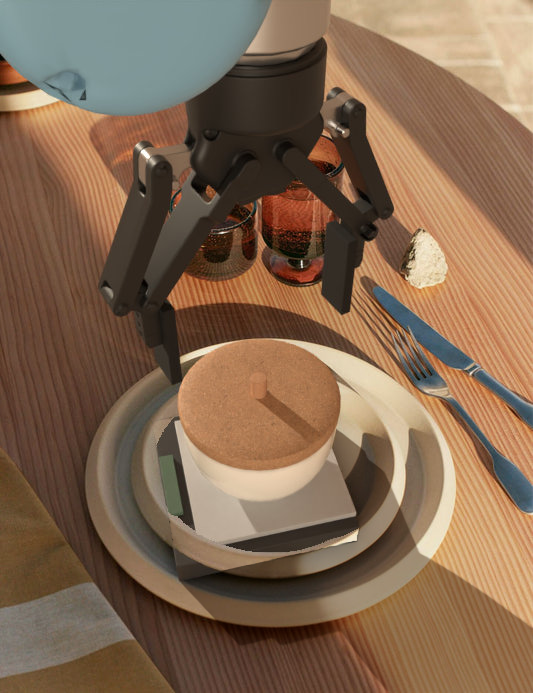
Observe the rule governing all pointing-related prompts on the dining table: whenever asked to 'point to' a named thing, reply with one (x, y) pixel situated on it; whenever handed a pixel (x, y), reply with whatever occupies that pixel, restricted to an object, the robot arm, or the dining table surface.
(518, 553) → the dining table surface
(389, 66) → the dining table surface
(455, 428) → the dining table surface
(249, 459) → the lidded bowl
